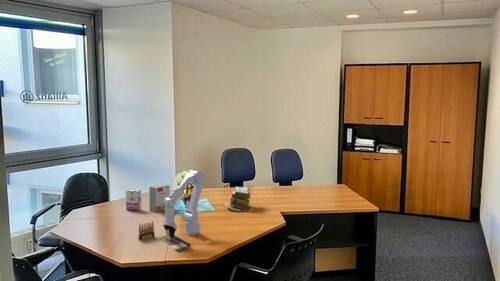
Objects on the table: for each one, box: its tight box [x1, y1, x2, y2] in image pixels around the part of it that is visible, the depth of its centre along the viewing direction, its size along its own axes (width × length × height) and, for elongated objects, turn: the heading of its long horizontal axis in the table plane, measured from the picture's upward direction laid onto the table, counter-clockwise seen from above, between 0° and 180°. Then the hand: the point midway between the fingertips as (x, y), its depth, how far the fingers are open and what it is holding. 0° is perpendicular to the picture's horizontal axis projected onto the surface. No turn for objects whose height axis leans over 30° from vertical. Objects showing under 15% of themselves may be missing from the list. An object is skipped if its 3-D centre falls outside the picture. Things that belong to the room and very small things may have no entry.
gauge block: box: [165, 229, 176, 240], centre depth 267 cm, size 4×4×6 cm
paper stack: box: [223, 186, 255, 212], centre depth 342 cm, size 25×25×17 cm
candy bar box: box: [125, 189, 142, 212], centre depth 335 cm, size 11×5×16 cm, turn 76°
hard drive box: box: [148, 183, 171, 213], centre depth 336 cm, size 16×8×20 cm, turn 143°
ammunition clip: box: [137, 220, 155, 241], centre depth 268 cm, size 11×2×12 cm, turn 131°
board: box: [157, 235, 192, 253], centre depth 262 cm, size 9×26×3 cm, turn 40°
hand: (170, 236), depth 267 cm, fingers closed on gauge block, 4 cm apart
